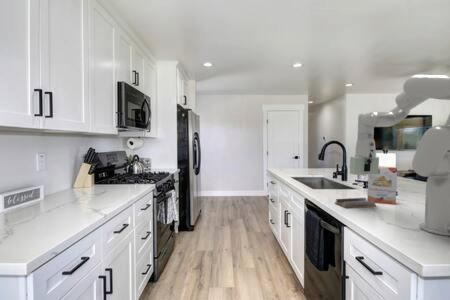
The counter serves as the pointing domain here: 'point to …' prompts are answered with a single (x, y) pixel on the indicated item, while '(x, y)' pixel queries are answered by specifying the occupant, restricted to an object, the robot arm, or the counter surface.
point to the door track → (355, 203)
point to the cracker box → (383, 185)
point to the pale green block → (358, 166)
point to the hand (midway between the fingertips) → (363, 170)
